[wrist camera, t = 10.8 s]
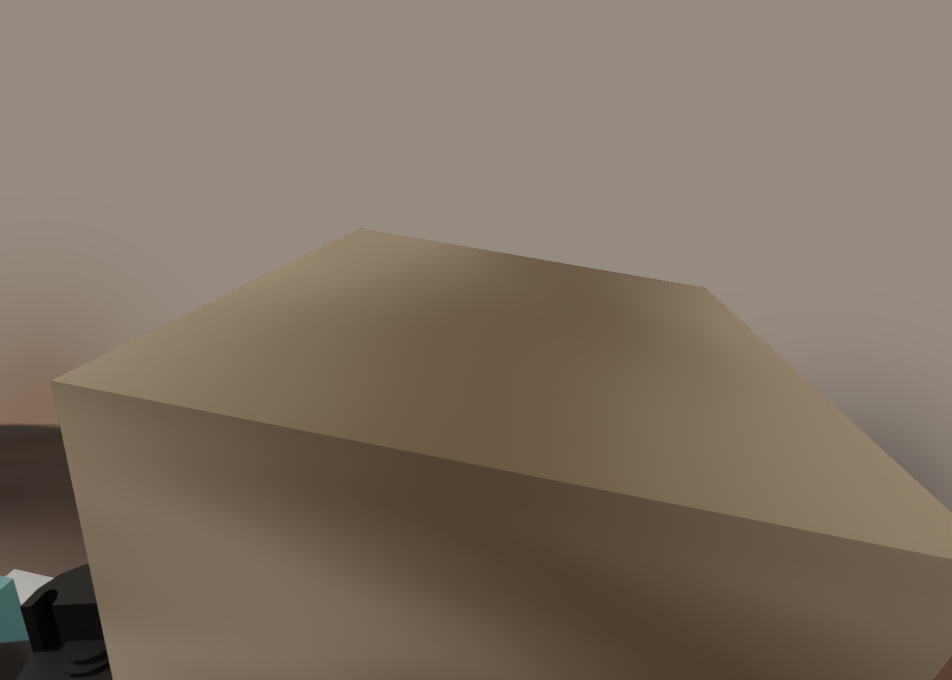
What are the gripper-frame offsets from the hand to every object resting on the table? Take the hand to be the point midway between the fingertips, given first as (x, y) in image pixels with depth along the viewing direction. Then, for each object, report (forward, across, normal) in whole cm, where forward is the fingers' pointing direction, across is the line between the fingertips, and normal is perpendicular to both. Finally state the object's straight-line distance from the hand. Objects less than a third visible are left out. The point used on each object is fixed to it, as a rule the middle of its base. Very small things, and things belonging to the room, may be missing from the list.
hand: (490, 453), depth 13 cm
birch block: (-5, 0, -8) cm, 10 cm away
